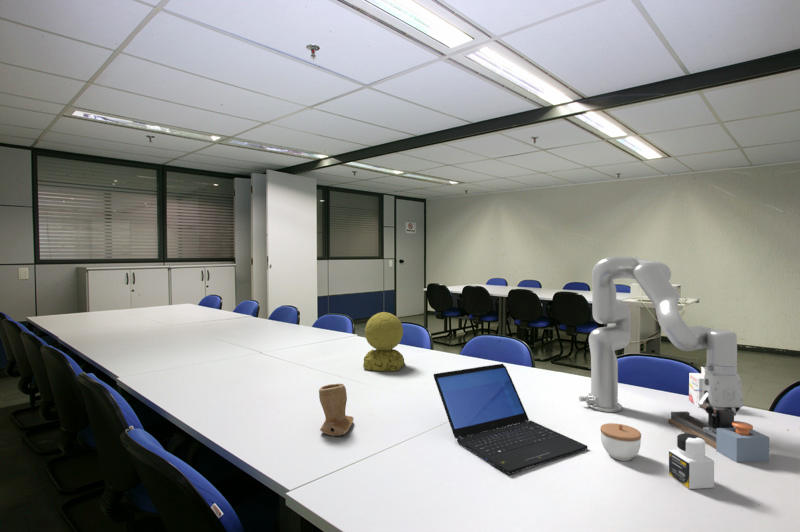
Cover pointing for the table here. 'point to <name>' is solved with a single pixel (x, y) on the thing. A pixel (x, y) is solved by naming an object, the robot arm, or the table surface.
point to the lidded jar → (620, 440)
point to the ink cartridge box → (696, 386)
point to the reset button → (742, 427)
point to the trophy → (383, 343)
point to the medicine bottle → (691, 463)
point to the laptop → (497, 420)
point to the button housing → (742, 445)
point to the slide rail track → (691, 426)
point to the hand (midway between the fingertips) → (721, 426)
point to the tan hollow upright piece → (334, 409)
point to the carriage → (721, 421)
